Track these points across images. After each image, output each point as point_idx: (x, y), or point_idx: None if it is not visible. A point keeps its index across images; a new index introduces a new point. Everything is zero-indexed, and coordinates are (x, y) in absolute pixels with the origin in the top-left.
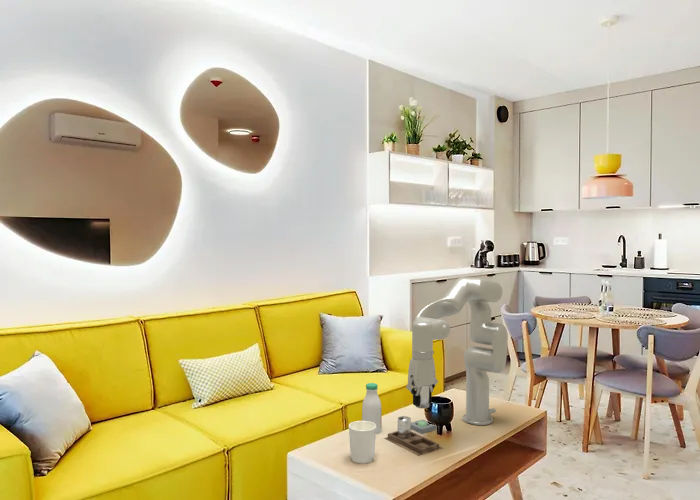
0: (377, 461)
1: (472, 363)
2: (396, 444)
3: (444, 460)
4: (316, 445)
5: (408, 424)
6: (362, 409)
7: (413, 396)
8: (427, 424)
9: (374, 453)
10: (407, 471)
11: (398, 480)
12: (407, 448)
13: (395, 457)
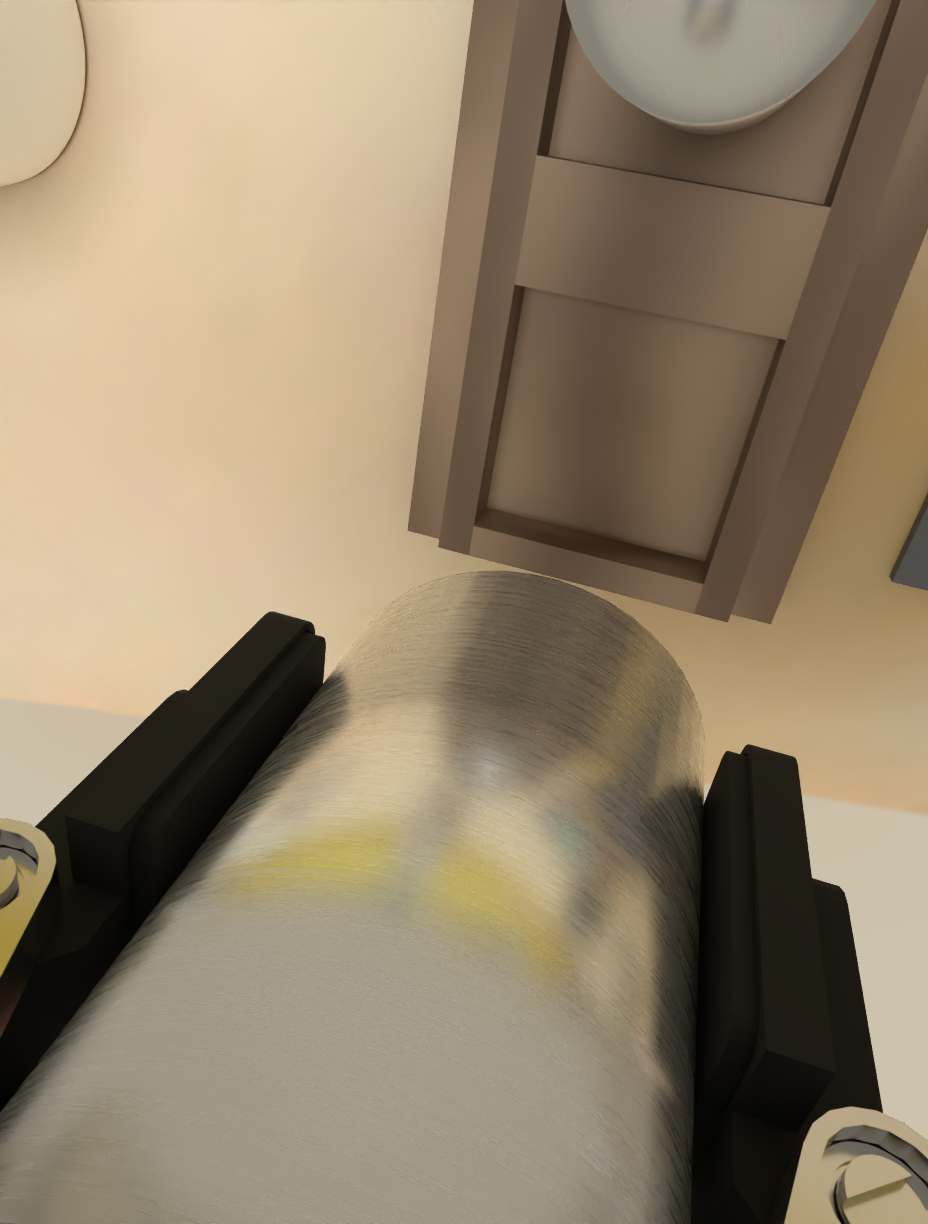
0: (69, 225)
1: None
2: (466, 95)
3: None
4: None
5: (683, 125)
6: None
7: (52, 836)
8: None
9: (21, 157)
10: (175, 573)
11: (36, 601)
12: (471, 309)
13: (273, 303)
